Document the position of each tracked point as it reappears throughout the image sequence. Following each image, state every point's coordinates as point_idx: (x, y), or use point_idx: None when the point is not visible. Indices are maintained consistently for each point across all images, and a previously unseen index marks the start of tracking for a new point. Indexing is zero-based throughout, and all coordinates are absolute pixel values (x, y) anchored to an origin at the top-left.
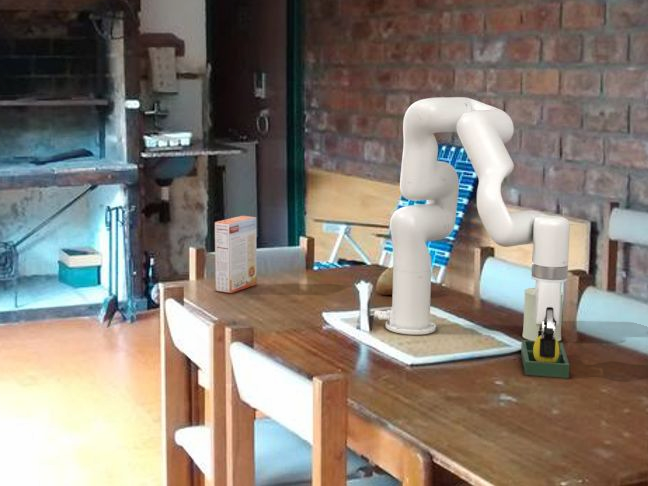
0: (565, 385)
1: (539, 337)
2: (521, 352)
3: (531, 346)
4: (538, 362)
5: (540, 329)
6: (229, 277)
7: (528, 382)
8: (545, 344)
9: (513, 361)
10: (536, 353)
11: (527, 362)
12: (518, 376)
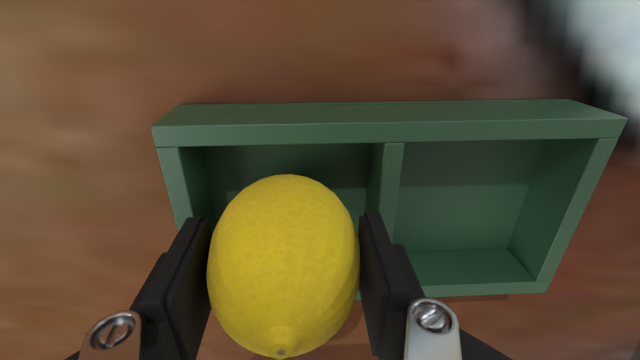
0: (116, 251)
1: (262, 282)
2: (547, 100)
3: (563, 159)
4: (169, 193)
5: (408, 312)
6: None
7: (65, 116)
8: (138, 302)
9: (408, 51)
10: (235, 201)
11: (155, 135)
12: (141, 69)
